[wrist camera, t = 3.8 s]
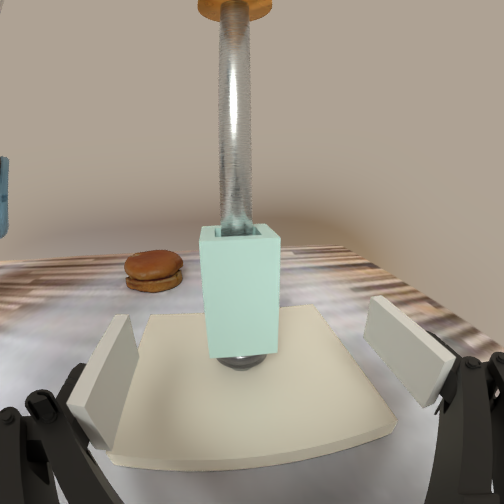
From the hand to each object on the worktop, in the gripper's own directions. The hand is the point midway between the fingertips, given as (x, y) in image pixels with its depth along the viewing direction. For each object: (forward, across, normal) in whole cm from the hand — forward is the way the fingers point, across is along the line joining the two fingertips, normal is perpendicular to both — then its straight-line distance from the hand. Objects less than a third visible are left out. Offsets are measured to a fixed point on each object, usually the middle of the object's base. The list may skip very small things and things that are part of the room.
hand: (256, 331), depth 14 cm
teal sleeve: (+5, 0, -4) cm, 7 cm away
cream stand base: (+5, 0, -8) cm, 10 cm away
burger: (+28, -12, -8) cm, 32 cm away
